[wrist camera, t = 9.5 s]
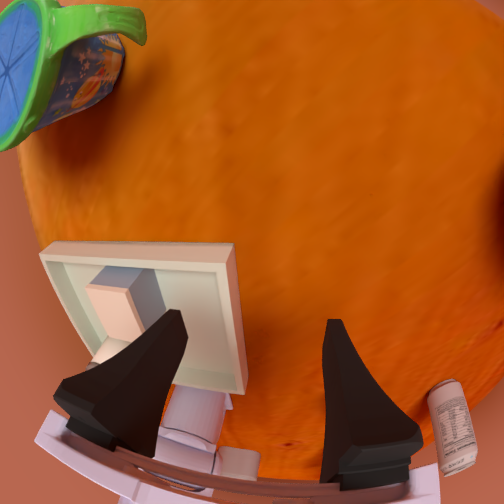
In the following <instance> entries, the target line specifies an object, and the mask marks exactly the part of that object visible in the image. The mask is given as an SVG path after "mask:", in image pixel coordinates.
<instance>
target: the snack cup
mask: <svg viewBox="0 0 504 504" xmlns="http://www.w3.org/2000/svg"><path fill="white" fill-rule="evenodd" d="M117 33H121V34H123V35H125V36H126V37H128V38H130V39H131V40H133V41H134V42H136V43H137V44H139V45H141V46H143V45H145V43H146V40H147V32H146V21H145V17H144V14H143V12H142V11H141V10H140V9H139V8H135V7H124V6H113V5H103V4H89V5H75V6H68V7H64V6H61V5H60V4H59V2H58V1H57V0H14V1H13V2H11V3H10V4H9V5H8V6H7V7H6V8H5V9H4V10H3V11H2V12H1V14H0V152H2V151H6V150H8V149H11V148H13V147H15V146H17V145H19V144H20V143H21V142H22V141H24V140H25V139H26V138H27V137H28V136H29V135H30V134H31V133H32V132H34V131H37V130H39V129H41V128H43V127H45V126H48V125H50V124H52V123H54V122H56V121H58V120H61V119H63V118H65V117H68V116H70V115H73V114H75V113H78V112H80V111H83V110H85V109H87V108H89V107H91V106H93V105H95V104H96V103H98V102H99V101H100V100H102V99H103V98H105V97H106V96H107V95H108V94H109V93H111V92H112V90H113V85H114V84H115V82H116V80H117V78H118V76H119V73H120V70H121V67H122V63H123V58H124V55H125V52H124V48H123V46H122V44H121V41H120V39H119V37H118V35H117Z"/></svg>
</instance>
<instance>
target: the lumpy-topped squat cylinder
mask: <svg viewBox="0 0 504 504" xmlns="http://www.w3.org/2000/svg"><path fill="white" fill-rule="evenodd" d="M218 452H219V453H220V455H221V457H222V460H223V462H222V469H221V474H220V476H223V477H229V478H236V479H243V480H251V481H256V480H257V475H258V469H259V463H260V457H261V456H260V453H258V452H256V451H252V450H245V449H238V448H233V447H227V446H222V447H219V449H218Z"/></svg>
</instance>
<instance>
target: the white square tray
mask: <svg viewBox="0 0 504 504" xmlns="http://www.w3.org/2000/svg"><path fill="white" fill-rule="evenodd" d="M39 256H40V258H41V261H42V263H43V265H44V268H45V270H46V273H47V275H48V277H49V279H50V281H51V283H52V285H53V288H54V290H55V291H56V294H57V296H58V298H59V300H60V302H61V304H62V306H63V307H64V309H65V311H66V313H67V315H68V317H69V318H70V320H71V322H72V324H73V326H74V327H75V329H76V331H77V332H78V334H79V336H80V337H81V339H82V341H83V342H84V344H85V345H86V347H87V348H88V350H89V352H90V353H91V355H92V356H93V357H94V356H95V354H96V353H97V351H98V349H99V348H100V346H101V345H102V343H103V342H104V340H105V339H106V337H107V336H108V334H107V332H106V330H105V329H104V327H103V325H102V323H101V321H100V319H99V317H98V315H97V313H96V311H95V309H94V307H93V305H92V303H91V301H90V298H89V296H88V294H87V292H86V290H85V287H86V286H87V284H89V283H90V282H91V281H92V280H93V279H94V278H95V277H96V276H97V275H98V274H99V272H100V271H101V270H102V269H103V268H104V267H105V266H106V265H107V266H121V267H135V268H151V269H154V270H155V274H156V277H157V281H158V284H159V287H160V291H161V294H162V297H163V300H164V303H165V306H166V311H165V312H167V311H168V310H169V309H176V310H180V311H181V314H182V317H183V321H184V324H185V327H186V330H187V334H188V337H189V338H188V342H187V345H186V349H185V353H184V356H183V358H182V360H181V363H180V365H179V368H178V370H177V372H176V375H175V377H174V379H173V382H172V384H177V385H182V386H187V387H193V388H198V389H204V390H211V391H217V392H224V393H232V394H241V395H245V391H246V386H247V381H248V376H249V374H248V366H247V358H246V349H245V341H244V332H243V323H242V315H241V305H240V296H239V287H238V278H237V268H236V258H235V248H234V243H196V242H129V241H54V242H53V243H51V244H50V245H49V246H48V247H46V248H45V249H44V250H43V251H42V252H40V253H39ZM165 312H164V313H165Z"/></svg>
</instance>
